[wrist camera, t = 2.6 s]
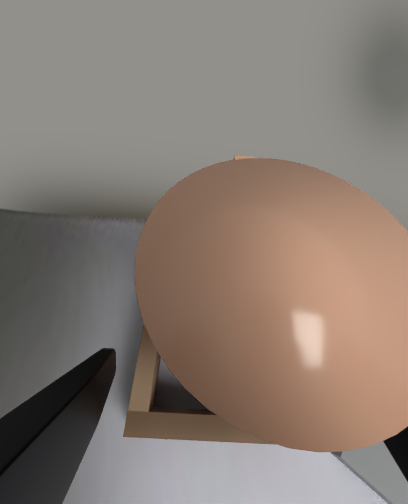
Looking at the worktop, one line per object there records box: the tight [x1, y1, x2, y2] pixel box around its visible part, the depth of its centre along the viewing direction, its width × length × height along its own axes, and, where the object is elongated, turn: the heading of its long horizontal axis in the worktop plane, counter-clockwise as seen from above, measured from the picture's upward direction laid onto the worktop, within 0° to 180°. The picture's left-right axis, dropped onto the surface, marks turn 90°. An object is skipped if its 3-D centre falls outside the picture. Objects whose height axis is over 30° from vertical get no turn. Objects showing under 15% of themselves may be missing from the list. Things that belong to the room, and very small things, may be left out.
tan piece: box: [135, 155, 408, 452], centre depth 12 cm, size 9×6×15 cm
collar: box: [123, 325, 274, 444], centre depth 16 cm, size 10×10×2 cm
